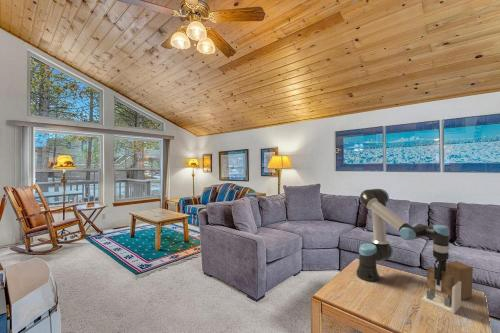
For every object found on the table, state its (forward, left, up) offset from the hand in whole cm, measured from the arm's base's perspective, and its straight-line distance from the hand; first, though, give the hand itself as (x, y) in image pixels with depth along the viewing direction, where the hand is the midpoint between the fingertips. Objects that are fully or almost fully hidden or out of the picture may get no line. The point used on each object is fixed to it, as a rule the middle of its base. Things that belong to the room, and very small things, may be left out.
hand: (439, 288), depth 147 cm
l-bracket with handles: (0, 0, -9) cm, 9 cm away
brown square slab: (0, 0, -1) cm, 1 cm away
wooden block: (+4, +20, -9) cm, 22 cm away
